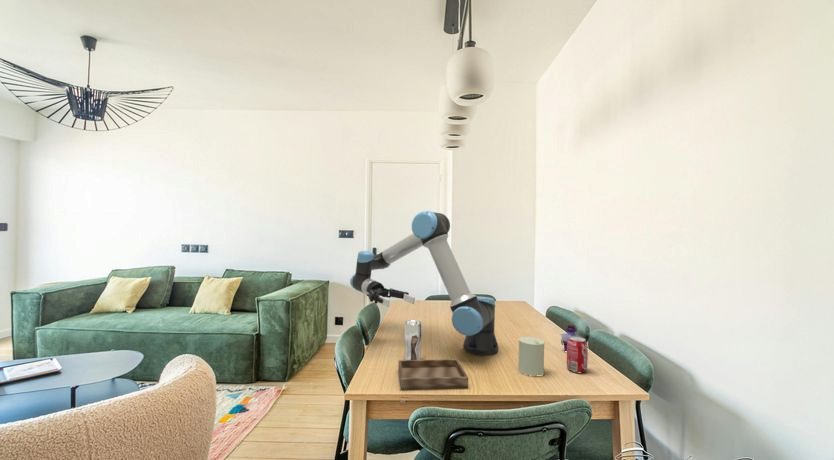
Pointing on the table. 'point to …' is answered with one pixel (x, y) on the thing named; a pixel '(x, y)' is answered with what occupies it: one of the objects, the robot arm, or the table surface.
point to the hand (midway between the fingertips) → (401, 302)
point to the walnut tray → (431, 374)
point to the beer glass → (412, 339)
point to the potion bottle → (568, 335)
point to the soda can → (577, 354)
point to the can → (531, 356)
